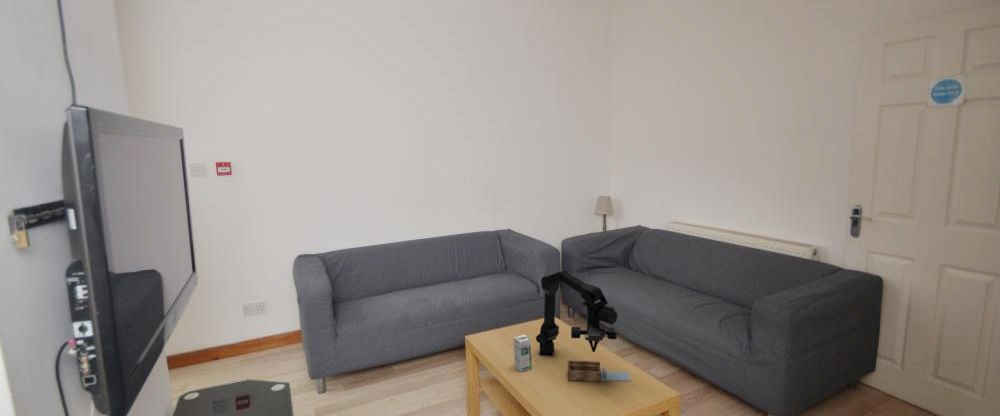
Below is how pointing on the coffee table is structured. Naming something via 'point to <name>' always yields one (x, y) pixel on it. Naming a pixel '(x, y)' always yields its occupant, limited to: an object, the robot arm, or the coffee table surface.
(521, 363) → the syrup box
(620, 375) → the cover plate
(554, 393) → the coffee table surface
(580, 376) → the pencil box
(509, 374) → the coffee table surface
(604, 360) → the coffee table surface
